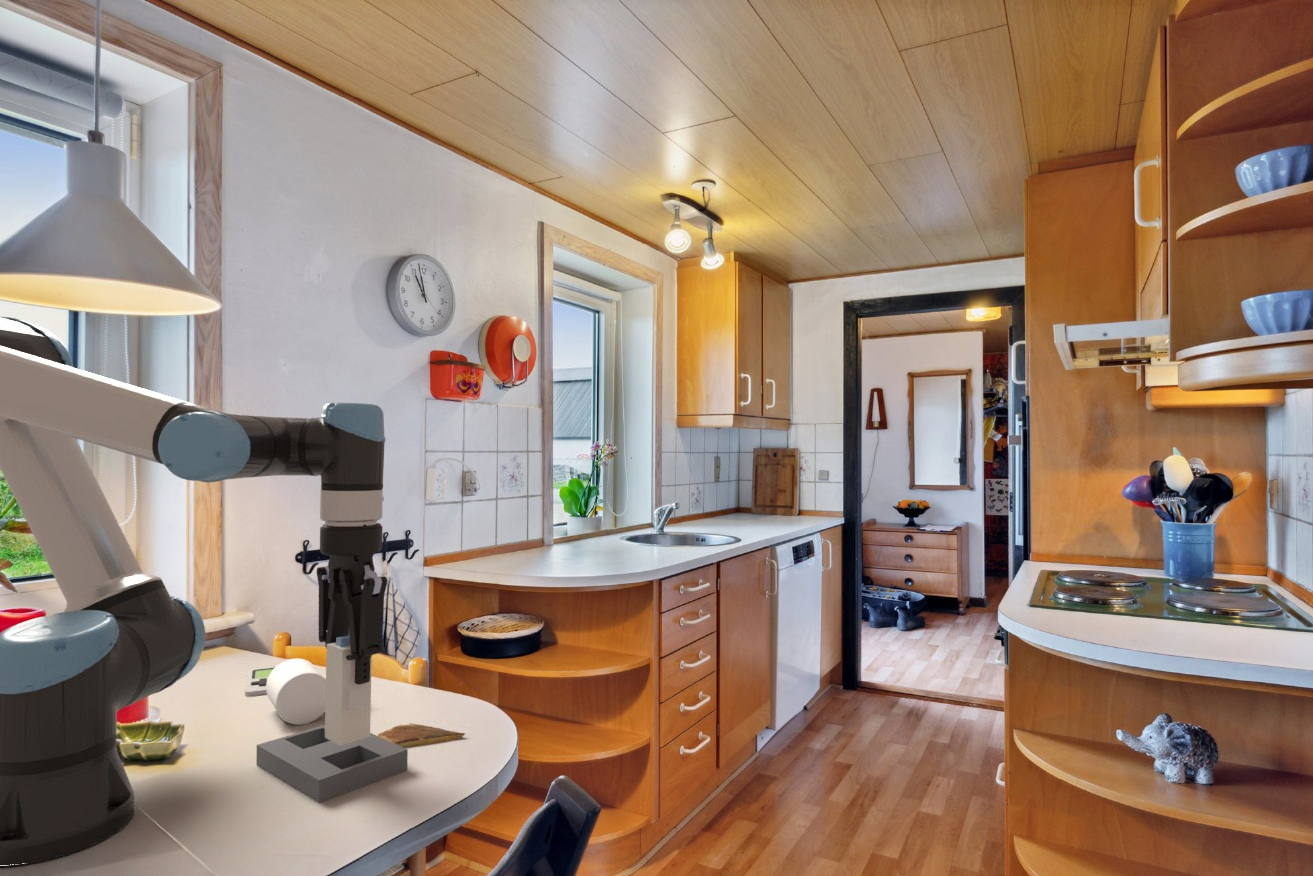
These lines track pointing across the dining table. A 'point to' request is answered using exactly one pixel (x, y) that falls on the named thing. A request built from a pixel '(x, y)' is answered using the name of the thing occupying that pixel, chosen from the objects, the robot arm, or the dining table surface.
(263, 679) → the handheld gaming console
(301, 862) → the dining table surface
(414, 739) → the shard
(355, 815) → the dining table surface
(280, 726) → the dining table surface
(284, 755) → the panel
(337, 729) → the plug
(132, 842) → the dining table surface
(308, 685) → the mug
